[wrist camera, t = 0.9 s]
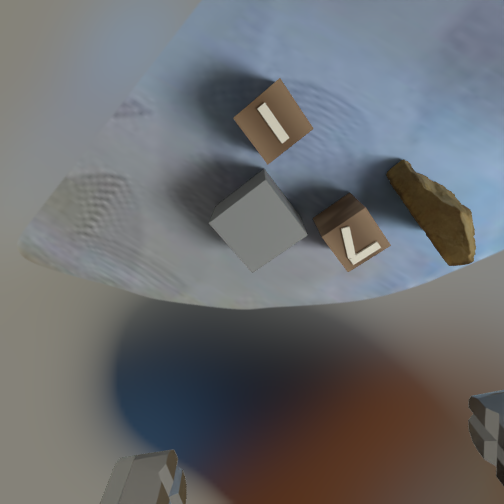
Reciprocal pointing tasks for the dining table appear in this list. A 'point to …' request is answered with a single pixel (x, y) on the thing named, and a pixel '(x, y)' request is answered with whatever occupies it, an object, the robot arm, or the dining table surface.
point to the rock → (436, 213)
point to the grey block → (258, 222)
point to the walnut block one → (273, 121)
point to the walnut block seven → (350, 232)
